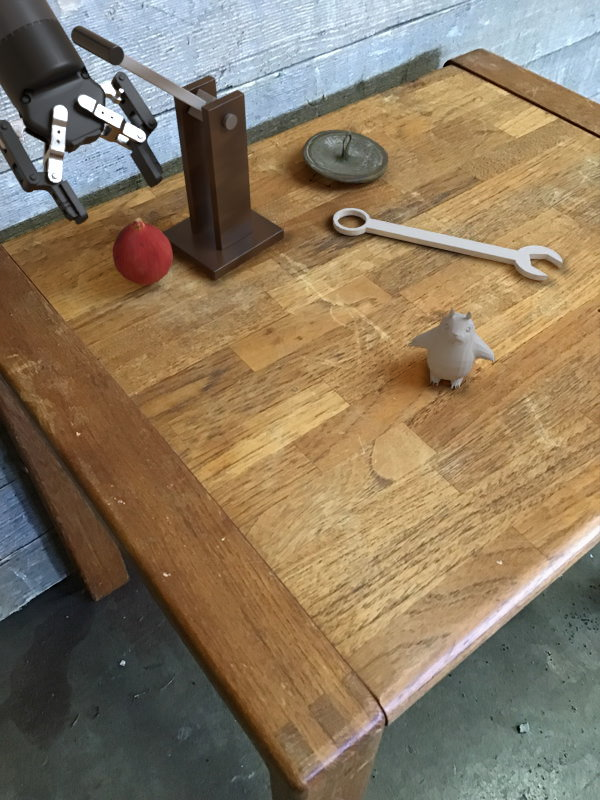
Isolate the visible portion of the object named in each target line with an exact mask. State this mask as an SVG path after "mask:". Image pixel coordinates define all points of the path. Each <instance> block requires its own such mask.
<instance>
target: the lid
mask: <svg viewBox="0 0 600 800" xmlns="http://www.w3.org/2000/svg"><path fill="white" fill-rule="evenodd" d="M301 156H302V158H303V160H304V162H305V163H306V165H307V166H308V167H309V168H310V169H311V170H313V171H314V172H315V173H317V174H319V175H320V176H323V177H325V178H327V179H328V180H332V181H336V182H340V183H346V184H364V183H371V182H373V181H376V180H378V179H380V178H382V177H383V175H385V174H386V171H387V170H388V167H389V165H388V164H389V153H388V152H387V150H386V149H385V148H384V146H382V145H381V144H380V143H379V142H377V141H375V140H374V139H373V138H371V137H370V136H369V137H368V136H367V135H364V134H362V133H358V132H355V131H351V130H344V129H327V130H321V131H318V132H316V133H315V134H313V135H311V136H310V137H309V138H308V139H307V140H306V141H305V143H304V145H303V147H302V151H301Z"/></svg>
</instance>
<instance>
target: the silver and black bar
mask: <svg viewBox="0 0 600 800" xmlns="http://www.w3.org/2000/svg"><path fill="white" fill-rule="evenodd" d="M70 38H71V39H70V40H71V42H72V44H73V45H76V46H77V47H80V48H81V49H83V50H84V51H87V52H88V53H90V54H92V55H94V56H96V57H97V58H99V59H101V60H103V61H104V62H106V63H108V64H110V65H112V66H113V67H114V66H115V67H116V66H119V67H121V68H122V69H124V70H126V71H128V72H130V73H131V74H133V75H135V76H137V77H138V78H140V79H142V80H144V81H146V82H147V83H149V84H151V85H153V86H154V87H156V88H158V89H160V90H162V91H163V92H165V93H167V94H169V95H170V96H172V97H173V96H174V97H176V98H177V99H179V100H181V101H183V102H185V103H186V104H188V105H190V106H191V107H190V109H189V112H188V114H190V115H192V116H193V117H195V118H197V119H199V120H200V121H202V122H203V120H202V110H201V107H202V106H204V105H206V104H208V103H210V102H213V101H215V100H217V99H218V97H217V98H215V97H213V96H212V95H210V94H208V93H206V92H204V91H202V90H200V89H199V90H198V92H197V94H196V95H194V94H192V93H191V92H189V91H187V90H186V89H184V88H182V87H183V86H180V85H179V84H177V83H176V82H174V81H172V80H171V79H169V78H167V77H165V76H163V74H160V73H159V72H157V71H155V70H153V69H152V68H150V67H149V66H147V65H145V64H143V63H142V62H140V61H138V60H136V59H135V58H134V57H131V56H130V55H128V54H126V53H125V52H124V49H123V48H122V47H121V46H119V45H118V44H116V43H115V42H112V41H110V39H109V40H108V39H107V38H105V37H103V36H101V35H99V34H97V33H95V32H94V31H92V30H90V29H88V28H86V27H85V26H83V25H75V26H74V27H73V29H71V32H70ZM174 97H173V98H174Z"/></svg>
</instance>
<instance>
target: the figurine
mask: <svg viewBox="0 0 600 800" xmlns="http://www.w3.org/2000/svg"><path fill="white" fill-rule="evenodd" d="M407 346H408V347H407V349H408V350H409V349H410V348H412V347H414V348H419V349H420V348H421V349H425V350H427V351H426V352H427V353H426V362H427V367H428V369H429V378H430V379H429V380H430V381H429V383H430V384H431V383H432V385H433V386H434V385H435V383H436V386H438V385H439V383H440V381H441V380H446V381H450V385H451V388H450V389H451V390H453V387H454V389H455V390H456V389H457V387H458V389H460V387H461V384H462V382H463V380H464V377H466V376H467V375H468V374H469V373H470V372H471V370H472V369H473V366H474V363H475V361H476V359H480V360H481V359H482V360H486V361H491V363H493V364H495V362H497V358H495V353H494V351H493V349H491V348H490V346H489V345H488V344H487V343H486V342H485V341H484V340H483V339H482V338H481V337H480V336H479V334H478V333H476V326H475V322H474V320H473V319H472V312H471V311H468V312H467V313H466V314H465V313H462V312H455V309H454V308H451V309H450V310H449V311H448V314H446V315H445V316H444V317H442V319H440V322H439V324H438V325H437V326H435V327H433V328H431V329H429V330H427V331H425V332H421V333H420V334H418V335H416V336H415V337H413V338H412V340H411V342H409V343H407Z"/></svg>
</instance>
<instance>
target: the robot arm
mask: <svg viewBox="0 0 600 800" xmlns="http://www.w3.org/2000/svg"><path fill="white" fill-rule="evenodd" d="M0 87H1V88H2V91H3V92H4V93H5V94H6V96H7V98H8V99H9V101H10V102H11V104H12V106H13V107H14V108H15V109H16V112H17V113H18V116H19V118H17V119H13V120H11V121H8V120H6V119H0V153H1V154H2V156H3V158H4V159H5V161H6V163H7V165H8V166H9V169H10V170H11V172H12V173H13V175H14V177H15V179H16V180H17V182H18V184H19V186H20V187H21V189H22V190H23V191H24V192H25V193H29V194H30V193H33V192H35V191H45V192H47V193H48V194H49V195H50V196H51V198H52V199H53V201H54V202H55V204H56V206H57V207H58V208H59V210H60V212H61V213H62V215H63V217H64V218H65V219H66V220H68V222H69V223H70V222H72V221H74V223H75V224H76V225H77V226H79V225H82V224H84V223H86V221H87V220H88V219H89V218H90V217H89V213H88V211H87V210H86V208H85V207H84V205H83V204H82V202H81V200H80V198H79V197H78V196H77V194H76V192H75V191H74V189H73V187H72V186H71V184H70V183H69V182H68V180H67V179H66V180H63V166H64V158H65V153H67V154H69V155H70V154H71V153H73V152H75V151H77V150H78V149H79V148H80V147H81V146H86V145H91V144H92V143H95V142H97V141H98V139H99V138H100V139H103V140H105V141H107V142H109V143H116V144H117V145H119V146H120V147H123V148H125V149H127V150H129V151H131V153H130V154H129V156H130V158H131V159H132V161H133V162H134V164H135V166H136V167H137V169H138V171H139V172H140V174H141V176H142V177H143V179H144V181H145V182H146V184H147V186H148V187H149V188H151V189H152V188H155V187H156V186H158V185H159V184H160V183H162V181H163V176H162V175H163V172H164V170H163V167H162V165H161V163H160V162H159V160H158V158H157V156H156V155H155V153H154V151H153V150H152V148H151V146H150V144H149V141H148V139H149V137H150V136H151V134H152V133H153V132H154V131H155V130H156V129H157V128H158V121H157V119H156V118H155V116H154V114H153V113H152V111H151V110H150V108H149V107H148V106H147V105H148V104H147V103H146V102H145V100H144V99H143V97H142V96H141V95H140V93H139V91H138V90H137V89H136V87H135V85H134V84H133V83H132V81H131V79H130V78H129V76H128V75H127V73H125V72H124V71H117V72H116V73H115V75H113V77H112V78H111V79H109V80H107V81H104V82H103V83H101V84H99V82H96V81H95V80H94V79H93V78H92V77H91V75H90V73H89V71H88V69H87V66H86V63H85V62H84V61H83V59H82V57H81V55H80V54H79V52H78V51H77V49H76V47H75V46H74V43H73V41H72V40H71V39H70V37H69V36H68V34H67V32H66V31H65V29H64V27H63V25H62V24H61V23H60V21H59V19H58V17H57V15H56V14H55V12H54V11H53V8H52V7H51V5H50V3H49V2H48V1H47V0H0ZM107 99H109V100H110V101H111V103H112V104H115V105H118V106H119V108H120V109H121V111H122V112H123V114H124V116H125V117H126V118H127V120H128V121H129V122H128V121H126V119H125V117H123V116H122V115H120V114H118V113H117V112H115V111H113V110H111V109H109V108H108V107H106V106H107V105H106V102H107V101H106V100H107ZM24 133H26V134H27V135H29V136H31V137H32V138H34V139H36V140H38V141H40V142H42V143H43V152H42V153H43V154H42V166H43V169H42V171H38V170H37V168H36V166H35V165H34V163H33V161H32V160H31V158H30V156H29V154H28V152H27V150H26V149H25V147H24V142H25V136H24Z"/></svg>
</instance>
